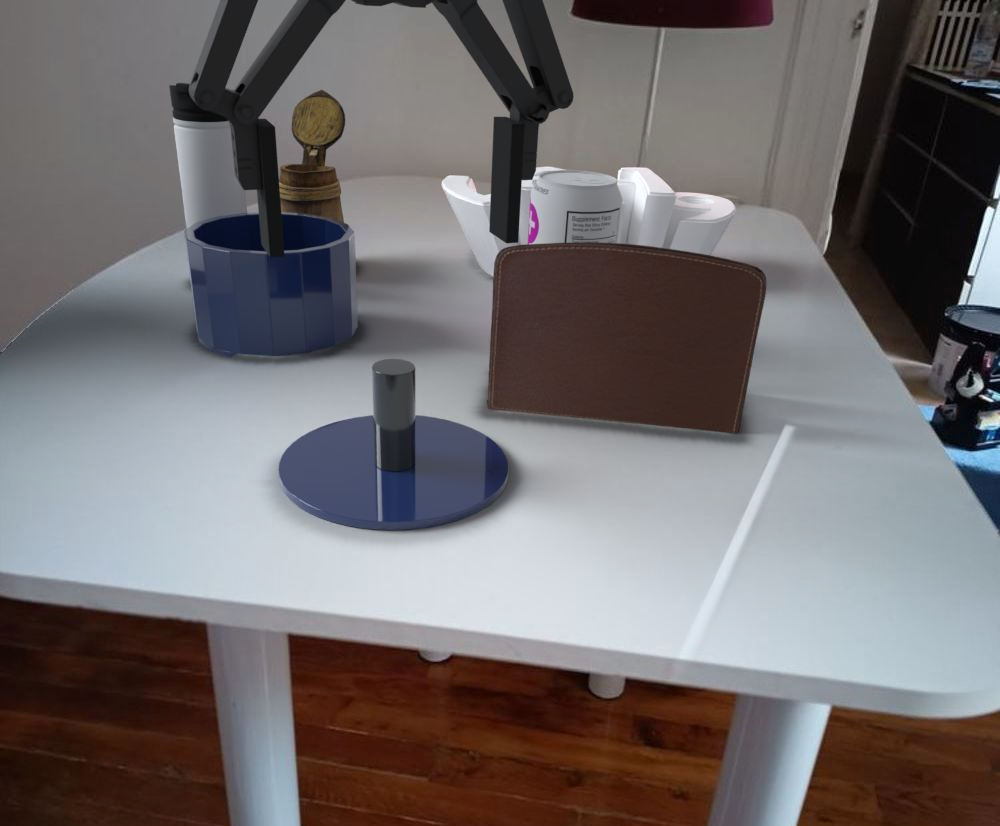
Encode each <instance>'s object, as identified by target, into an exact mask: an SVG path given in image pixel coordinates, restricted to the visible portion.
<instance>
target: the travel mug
mask: <svg viewBox="0 0 1000 826" xmlns="http://www.w3.org/2000/svg"><path fill="white" fill-rule="evenodd" d="M189 85H190V83H188V82H187V83H186V82H176V83H175V85H173V84H169V86H168V87H169V94H170V95H169V96H170V101H171V102H170V104H171V107H172V111H171V112H172V123H173V124H174V125H173V132H174V139H175V148H176V156H177V164H178V171H179V172H178V173H179V178H180V189H181V194H182V195H181V196H182V202H183V203H182V204H183V211H184V220H185V227H186V228H185V229H188V228H189V227H190V226H192V225H193V224H194V223H196V222H200V221H203V220H207V219H210V218H214V217H218V216H225V215H233V214H240V213H248V205H247V194H246V190H243V188H242V187H241V186H240V184H239V182H238V180H237V178H236V176H235V170H234V160H233V150H232V139H231V129H230V123H229V121H228V119H227V118H226V117H224V116H222V115H219V114H216V113H213V112H210V111H206V110H202V109H201V108H200V107H198V105H197V104H196V103H195V102H194V101H193V99H192V98H191V96H190V94H189ZM232 90H233V91H234V89H232Z"/></svg>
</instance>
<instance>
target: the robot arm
mask: <svg viewBox="0 0 1000 826" xmlns="http://www.w3.org/2000/svg"><path fill="white" fill-rule="evenodd" d="M501 1H502V3H503V6H504V9H505V12H506V14H507V17H508V20H509V23H510V25H511V28H512V32H513V34H514V37H515V40H516V42H517V45H518V48H519V51H520V54H521V56H522V59H523V62H524V65H525V68H526V70H527V73H528V76H529V79H530V81H531V83H530V82H529V81H528V79H527V77H526V76H525V74H524V73H523V71H522V70H521V68H520V66H519V65H518V64H517V62H516V60H515V59H514V58H513V56H512V55H511V52H510V51H509V50H508V48H507V47H506V45H505V44H504V42H503V40H502V39H501V37H500V36H499V34H498V32H497V31H496V29H495V28H494V27H493V25H492V23H491V22H490V20H489V19H488V17H487V16H486V14H485V12H484V11H483V10H482V8H481V6H480V5H479V2H478V0H350V2H353V3H354V4H356V5H361V6H365V7H383V6H386V5H391V4H395V5H398V6H402V7H408V8H418V9H419V8H421V9H426V8H427V6H428V5H431V4H432V5H433V7H434V8H435V9H436V10H437V12H439V14H441V15H442V17H443V18H444V19H445V20H446V21H447V24H449V26H450V27H451V28H452V31H453V32H454V33H455V35H456V36H457V38H458V39H459V41H460V42H461V43H462V45H463V46H464V48H465V50H466V51H467V52H468V54H469V55H470V58H471V59H472V60H473V61H474V63H475V65H477V67H478V69H479V70H480V71H481V74H483V76H484V77H485V79H486V81H487V82H488V83H489V85H490V86H491V88H492V89H493V91H494V92H495V94H496V95H497V97H498V98H499V99H500V102H502V104H503V106H504V107H505V109H506V110H507V112H509V117H508V116H493V129H492V151H491V152H492V153H491V155H492V156H491V179H490V180H491V181H490V194H491V201H490V226H489V232H490V233H492V234H493V235H495V236H496V237H498V238H499V239H501V240H502V241H504V242H505V243H518V238H519V220H520V202H521V184H522V180H532V179H533V177H534V174H535V172H536V168H537V159H538V145H539V143H538V142H539V129H540V128H539V127H540V125H542V124H543V123H545V122H546V121H547V119H548V118H549V115H550V113H552V112H554V111H556V110H559V109H561V110H565V109H568V108H569V107H570V106H571V105H572V104H573V102H574V90H573V88H572V85H571V82H570V79H569V76H568V72H567V70H566V67H565V63H564V60H563V58H562V54H561V52H560V49H559V46H558V43H557V42H558V41H557V40H556V37H555V33H554V30H553V27H552V25H551V21H550V19H549V18H550V17H549V15H548V12H547V9H546V6H545V4H544V0H501ZM258 2H259V0H219V2H218V5H217V8H216V10H215V14H214V16H213V19H212V21H211V23H210V27H209V29H208V32H207V35H206V37H205V41H204V44H203V46H202V49H201V52H200V55H199V57H198V60H197V62H196V66H195V69H194V71H193V73H192V76H191V80H190V82H189V84H190V85H189V94H190V96H191V98H192V99H193V101H194V102H195V103H196V104H197V105H198V107H200V108H201V109H202V110H206V111H210V112H213V113H216V114H219V115H222V116H224V117H226V118H227V119H228V121H229V123H230V129H231V139H232V150H233V160H234V170H235V176H236V178H237V180H238V182H239V184H240V186H241V187H242V188H243V190H245V191H256V197H257V209H258V212H259V221H260V233H261V245H262V246H263V248H264V249H265V251H266V252H267V254H268V255H269V257H270V258H275V257H284V243H283V229H282V215H281V202H280V188H279V179H280V173H279V164H278V163H279V162H278V161H279V160H278V148H277V135H276V126H275V125H274V124H272V123H271V122H270V121H269V120H268V119H267V118H260V116H262V114H263V112H264V111H265V110H266V108H267V107H268V105H269V104H270V102H272V100H273V98H274V97H275V95H276V94H277V93H278V91H279V90H280V89H281V87H282V86H283V84H284V83H285V82H286V81H287V79H288V78H289V76H290V75H291V73H292V72H293V71H294V69H295V68H296V66H297V65H298V64H299V62H300V61H301V59H302V58H303V56H304V55H305V54H306V52H307V51H308V50H309V48H310V47H311V46H312V44H313V43H314V41H315V40H316V38H317V37H318V36H319V34H320V33H321V31H322V30H323V29H324V27H325V26H326V24H327V23H328V22H329V20H330V19H331V17H333V15H335V14H337V12H339V10H340V8H342V6H343V5H344V3H345V2H346V0H296V1H295V3H294V4H293V5H292V7H291V8H290V10H289V11H288V13H287V14H286V15H285V17H284V18H283V20H282V21H281V23H280V24H279V25H278V27H277V28H276V29H275V31H274V32H273V34H272V35H271V37H270V38H269V40H268V41H267V43H265V45H264V47H263V48H262V49H261V51H260V52H259V54H258V55H257V56H256V58H255V59H254V61H252V64H251V65H250V66H249V68H248V69H247V71H246V72H245V73H244V75H243V76H242V78H240V81H239V82H238V83H237V85H236V86H235V87H234V89H230V88H228V87H227V84H228V82H229V79H230V76H231V73H232V71H233V69H234V65H235V63H236V60H237V58H238V55H239V53H240V50H241V47H242V45H243V41H244V39H245V37H246V33H247V31H248V29H249V26H250V23H251V20H252V18H253V15H254V13H255V10H256V7H257V4H258ZM233 90H234V91H233Z"/></svg>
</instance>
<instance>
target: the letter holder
mask: <svg viewBox="0 0 1000 826" xmlns="http://www.w3.org/2000/svg"><path fill="white" fill-rule="evenodd" d="M767 282H768V281H767V277H766V274H765V272H764V271H763V270H762V269H761V268H760V267H758V266H756V265H753V264H750V263H746V262H743V261H737V260H734V259H730V258H729V259H728V258H725V257H720V256H715V255H712V254H711V255H705V254H700V253H693V252H687V251H680V250H674V249H667V248H659V247H652V246H643V245H633V244H621V243H596V242H585V243H577V242H575V243H547V244H527V245H516V246H510V247H506V248H504V249H502V250H500V252H499V253H498V254H497V256H496V259H495V262H494V275H493V277H492V301H491V302H492V304H491V305H492V307H491V321H490V323H491V325H490V341H489V361H488V383H487V384H488V385H487V386H488V387H487V400H486V407H487V409H488V410H493V411H503V412H515V413H523V414H524V413H526V414H533V415H545V416H555V417H564V418H574V419H575V418H576V419H586V420H596V421H603V422H604V421H605V422H617V423H626V424H637V425H645V426H646V425H647V426H656V427H665V428H666V427H667V428H674V429H675V428H676V429H686V430H697V431H704V432H705V431H707V432H715V433H725V434H734V435H737V434H739V432H740V429H741V423H742V418H743V413H744V408H745V407H744V406H745V402H746V397H747V393H748V386H749V382H750V375H751V370H752V367H753V360H754V353H755V347H756V344H757V343H756V342H757V338H758V333H759V329H760V325H761V319H762V315H763V310H764V304H765V300H766V294H767V286H768V285H767V284H768V283H767Z"/></svg>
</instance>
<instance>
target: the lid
mask: <svg viewBox="0 0 1000 826" xmlns="http://www.w3.org/2000/svg"><path fill="white" fill-rule="evenodd" d="M416 375H417V374H416V365H415V364H414V363H413V362H412V361H409V360H406V359H401V358H386V359H381V360H378V361H375V362H374V363H373V364H372V366H371V382H372V414H371V415H364V416H355V417H351V418H346V419H341V420H337V421H334V422H331V423H328V424H325V425H322V426H320V427H318V428H315V429H313V430H311V431H309V432H307V433H305V434H303V435H302V436H300V437H298V438H297V439H296V440H295V441H293V442H292V443H291V444H290V445H289V446H288V447H287V448H286V449H285V451H284V452H283V453H282V455H281V457H280V460H279V463H278V469H277V470H278V480H279V484H280V487H281V489H282V491H283V492H284V494H285V495H286V497H287V498H288V499H289V500H290V501H291V502H293V504H295V505H296V506H297V507H299V508H300V509H302V510H304V511H305V512H307V513H309V514H311V515H313V516H315V517H317V518H320V519H323V520H326V521H329V522H332V523H335V524H339V525H343V526H347V527H348V526H349V527H353V528H357V529H358V528H359V529H367V530H368V529H369V530H378V531H379V530H380V531H381V530H383V531H400V530H401V531H402V530H403V531H404V530H405V531H406V530H416V529H425V528H430V527H437V526H441V525H445V524H450V523H453V522H456V521H459V520H462V519H464V518H467V517H470V516H472V515H474V514H476V513H479V512H481V511H482V510H484V509H485V508H486V507H488V506H489V505H491V504H492V503H493V502H494V501H496V500H497V499H498V498H499V497H500V495H501V494H502V493H503V492H504V490H505V488H506V486H507V484H508V480H509V470H510V469H509V461H508V458H507V455H506V453H505V452H504V451H503V448H501V446H500V445H498V443H497V442H496V441H494V440H493V439H492V438H490V437H489V436H488V435H486V434H484V433H482V432H481V431H479V430H477V429H474V428H473V427H471V426H467V425H464V424H462V423H459V422H455V421H452V420H449V419H444V418H439V417H433V416H428V415H417V414H416V413H417V412H416V411H417V410H416V408H417V407H416V406H417V405H416V400H417V399H416V397H417V396H416V393H417V392H416V391H417V390H416V381H417V380H416Z"/></svg>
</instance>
